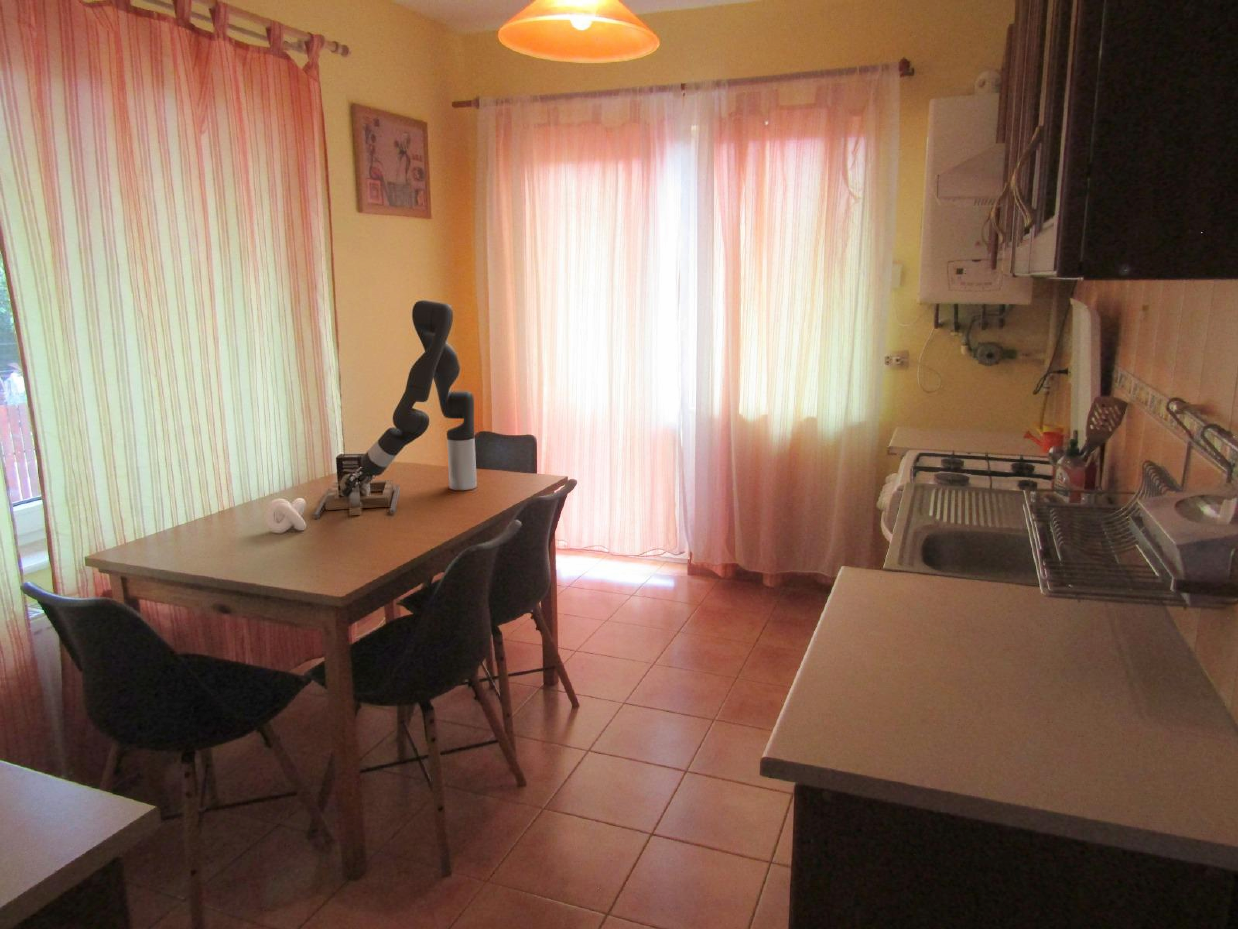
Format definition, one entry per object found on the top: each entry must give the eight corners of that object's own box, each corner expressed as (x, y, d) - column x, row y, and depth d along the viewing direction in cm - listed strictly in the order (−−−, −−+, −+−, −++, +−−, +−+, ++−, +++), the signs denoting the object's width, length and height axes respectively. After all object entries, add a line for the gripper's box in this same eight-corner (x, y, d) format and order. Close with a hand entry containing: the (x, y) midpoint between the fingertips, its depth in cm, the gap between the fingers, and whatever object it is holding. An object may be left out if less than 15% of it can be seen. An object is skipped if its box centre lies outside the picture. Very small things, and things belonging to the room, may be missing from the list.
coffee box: (338, 507, 273) (334, 457, 269) (342, 502, 279) (339, 453, 275) (368, 506, 274) (364, 456, 270) (371, 501, 280) (368, 452, 276)
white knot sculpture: (262, 538, 242) (259, 507, 240) (267, 526, 253) (264, 496, 251) (305, 534, 245) (302, 504, 243) (308, 523, 256) (305, 493, 254)
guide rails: (328, 493, 290) (328, 488, 290) (399, 489, 295) (399, 485, 294) (314, 519, 260) (313, 514, 259) (394, 514, 264) (393, 509, 264)
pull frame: (335, 491, 292) (332, 456, 289) (393, 488, 295) (391, 453, 292) (322, 517, 261) (318, 478, 258) (386, 513, 264) (384, 475, 262)
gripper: (385, 443, 265) (354, 479, 271) (357, 452, 252) (325, 489, 258) (401, 461, 264) (369, 496, 271) (374, 471, 251) (342, 508, 258)
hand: (348, 493), depth 264 cm, fingers closed on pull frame, 3 cm apart
